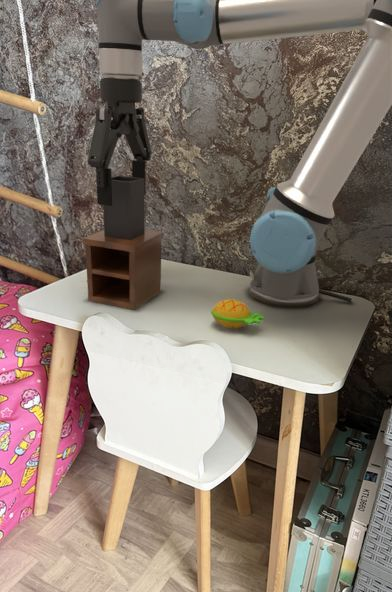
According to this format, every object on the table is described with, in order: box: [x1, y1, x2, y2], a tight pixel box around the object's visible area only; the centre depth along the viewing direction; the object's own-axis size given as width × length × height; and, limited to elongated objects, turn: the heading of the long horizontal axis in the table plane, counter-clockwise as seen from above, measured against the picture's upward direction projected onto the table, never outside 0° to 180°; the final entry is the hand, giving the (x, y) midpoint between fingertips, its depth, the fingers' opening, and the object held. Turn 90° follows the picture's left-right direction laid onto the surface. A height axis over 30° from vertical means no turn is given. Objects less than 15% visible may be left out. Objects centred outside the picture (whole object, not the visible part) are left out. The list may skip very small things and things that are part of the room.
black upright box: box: [102, 175, 146, 240], centre depth 104 cm, size 6×6×11 cm
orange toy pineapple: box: [210, 298, 265, 329], centre depth 98 cm, size 7×10×5 cm
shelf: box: [82, 229, 164, 311], centre depth 109 cm, size 12×13×13 cm
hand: (122, 199), depth 103 cm, fingers open, 13 cm apart
